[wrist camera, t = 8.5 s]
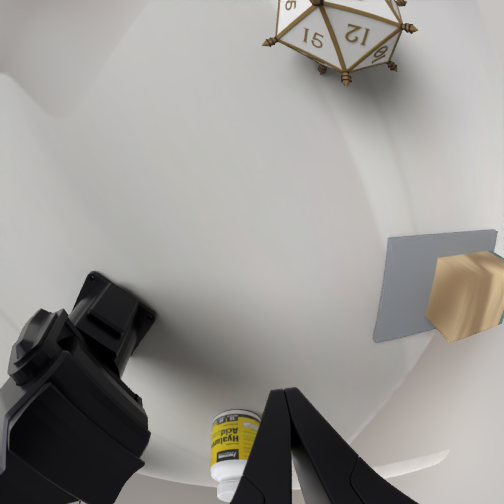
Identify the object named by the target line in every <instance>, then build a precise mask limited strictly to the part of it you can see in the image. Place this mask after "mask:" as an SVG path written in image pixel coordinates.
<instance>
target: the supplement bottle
mask: <svg viewBox="0 0 504 504" xmlns="http://www.w3.org/2000/svg"><path fill="white" fill-rule="evenodd" d="M260 422H261V420H260V418H259V417H258V416H257V415H255V414H254V413H251V412H248V411H244V410H230V411H226V412H223V413H221V414H219V415H217V416H216V417H215V419H214V420H213V426H212V445H211V466H210V471H211V476H212V477H213V479H214V480H216V481H217V482H219V484H218V485H217V497H218V498H219V499H220V500H222V501H225V502H231V500H232V498H233V496H234V493H235V491H236V489H237V486H238V484H239V481H240V479H241V476H243V475H242V474H243V471H244V468H245V465H246V463H247V460H248V457H249V454H250V451H251V448H252V445H253V443H254V440H255V437H256V434H257V431H258V428H259V425H260Z"/></svg>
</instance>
